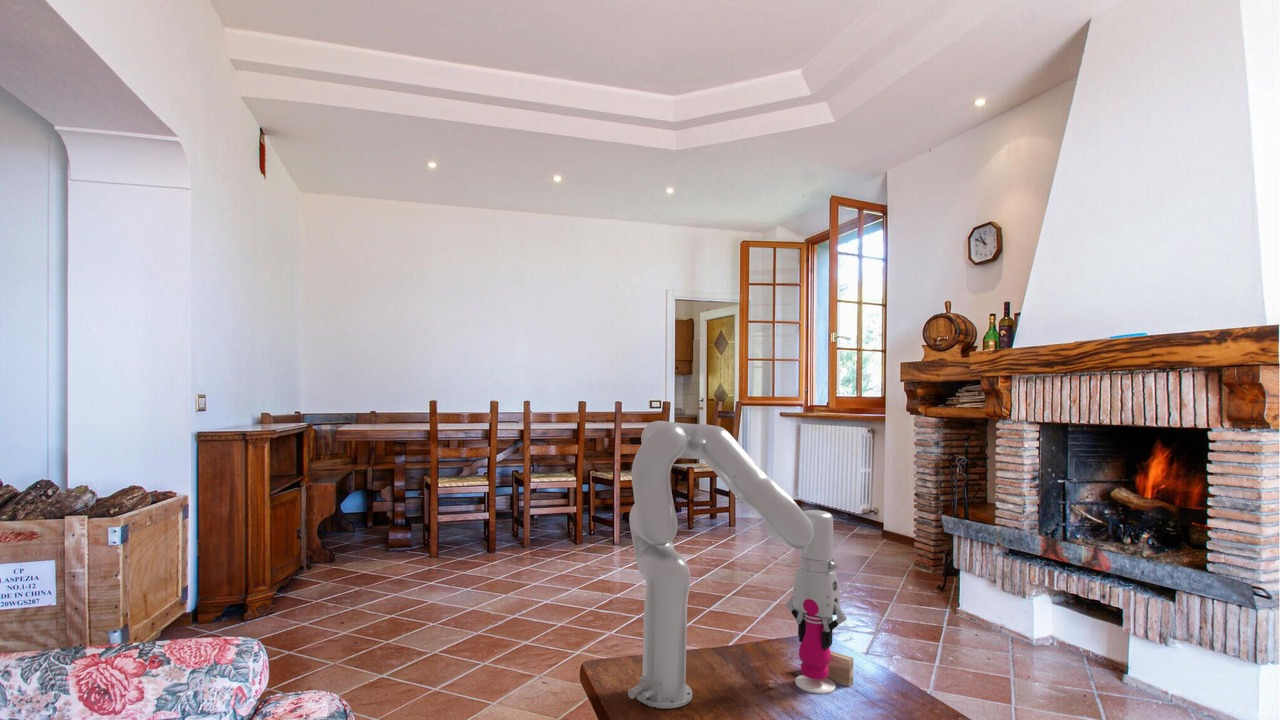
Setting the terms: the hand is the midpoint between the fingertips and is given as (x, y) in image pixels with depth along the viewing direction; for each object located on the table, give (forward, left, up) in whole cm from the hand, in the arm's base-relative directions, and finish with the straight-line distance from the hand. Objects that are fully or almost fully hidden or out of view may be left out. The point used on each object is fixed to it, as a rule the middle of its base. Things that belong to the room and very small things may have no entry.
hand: (814, 643), depth 151 cm
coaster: (0, 0, -10) cm, 10 cm away
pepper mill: (0, 0, -7) cm, 7 cm away
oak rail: (+6, 0, -10) cm, 11 cm away
